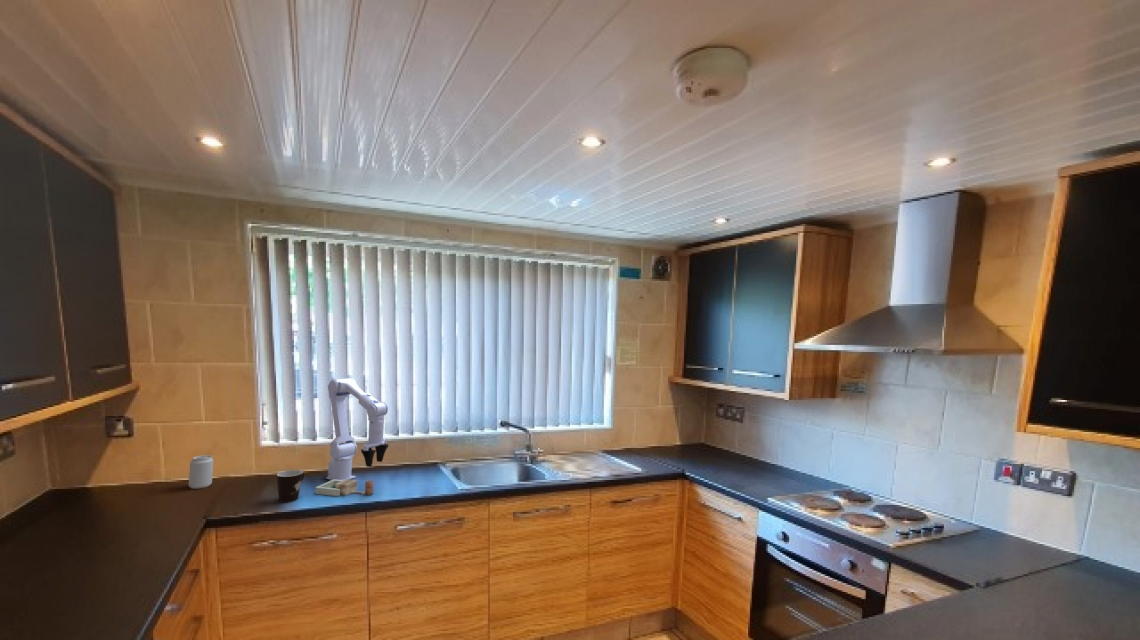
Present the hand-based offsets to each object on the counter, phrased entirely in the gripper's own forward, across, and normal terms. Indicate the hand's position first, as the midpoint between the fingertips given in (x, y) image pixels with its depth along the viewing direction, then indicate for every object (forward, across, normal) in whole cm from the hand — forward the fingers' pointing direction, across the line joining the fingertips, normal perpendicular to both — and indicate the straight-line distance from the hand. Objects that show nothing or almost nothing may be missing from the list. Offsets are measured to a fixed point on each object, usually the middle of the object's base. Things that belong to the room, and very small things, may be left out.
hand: (374, 463), depth 196 cm
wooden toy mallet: (+10, -8, +2) cm, 13 cm away
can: (+10, -19, +65) cm, 68 cm away
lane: (+10, -8, +12) cm, 17 cm away
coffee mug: (+10, -20, +21) cm, 31 cm away
